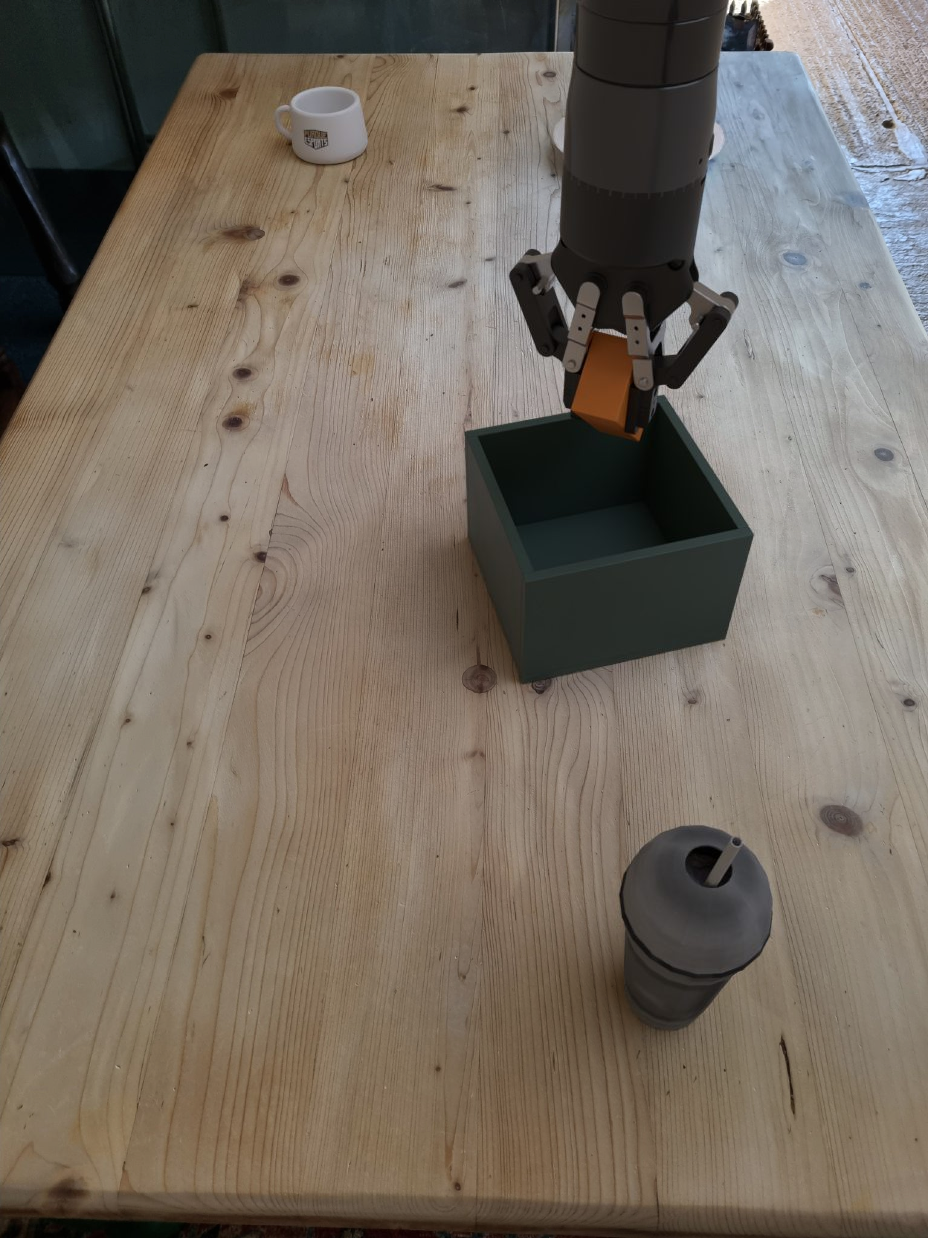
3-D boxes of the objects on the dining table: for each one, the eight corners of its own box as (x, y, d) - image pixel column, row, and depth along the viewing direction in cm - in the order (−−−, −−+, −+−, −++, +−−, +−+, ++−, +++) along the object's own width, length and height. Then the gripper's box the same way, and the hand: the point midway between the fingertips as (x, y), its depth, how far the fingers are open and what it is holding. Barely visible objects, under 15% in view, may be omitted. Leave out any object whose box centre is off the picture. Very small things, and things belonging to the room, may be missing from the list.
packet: (661, 371, 68) (641, 341, 60) (639, 442, 69) (616, 422, 60) (619, 361, 69) (594, 330, 60) (598, 431, 70) (570, 410, 61)
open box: (725, 639, 73) (754, 534, 65) (522, 684, 71) (525, 582, 62) (648, 499, 83) (664, 393, 74) (467, 536, 80) (464, 430, 72)
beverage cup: (704, 919, 59) (777, 730, 44) (748, 1044, 54) (847, 881, 39) (586, 940, 58) (618, 756, 43) (619, 1069, 54) (668, 913, 38)
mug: (378, 135, 129) (373, 86, 124) (355, 169, 123) (349, 119, 118) (291, 128, 131) (283, 79, 126) (264, 161, 125) (256, 111, 120)
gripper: (482, 159, 51) (485, 425, 64) (750, 210, 47) (695, 484, 60) (538, 103, 56) (530, 363, 69) (788, 145, 51) (729, 413, 65)
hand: (607, 418), depth 64 cm, fingers open, 3 cm apart
